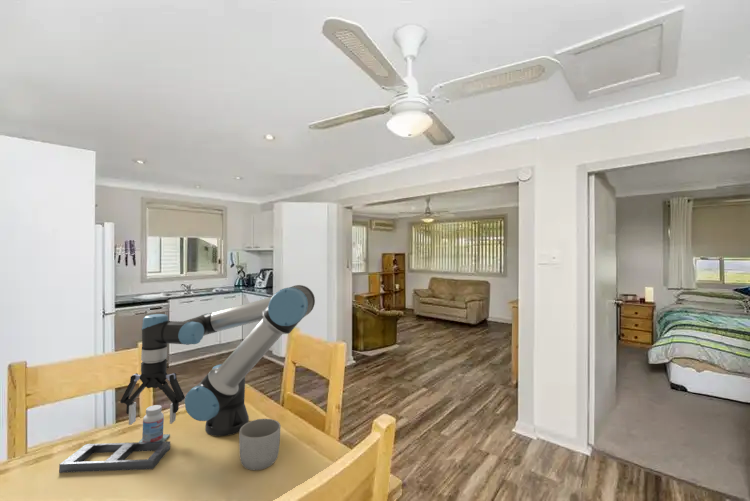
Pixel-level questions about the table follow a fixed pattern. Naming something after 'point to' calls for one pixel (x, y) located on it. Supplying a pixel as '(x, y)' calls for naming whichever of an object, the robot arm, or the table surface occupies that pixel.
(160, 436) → the pill bottle
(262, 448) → the planter
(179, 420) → the table surface
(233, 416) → the robot arm
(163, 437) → the coaster
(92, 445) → the rack frame
